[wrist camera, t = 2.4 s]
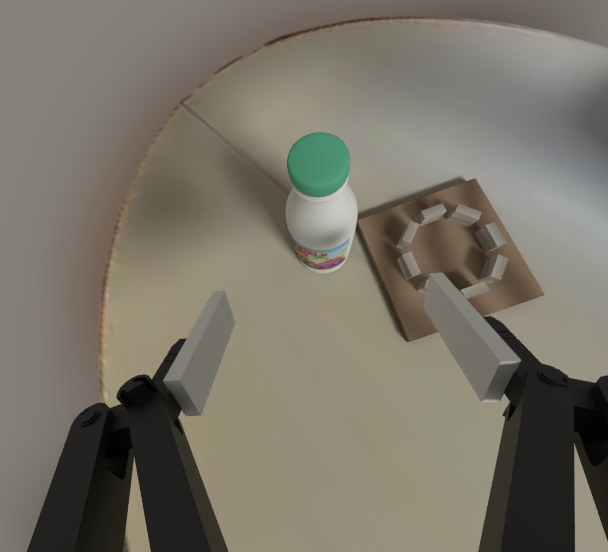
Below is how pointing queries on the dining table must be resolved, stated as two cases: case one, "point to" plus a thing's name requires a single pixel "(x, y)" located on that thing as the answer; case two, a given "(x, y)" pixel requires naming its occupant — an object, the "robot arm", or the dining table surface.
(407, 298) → the ring seat
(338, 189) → the milk bottle
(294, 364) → the dining table surface
